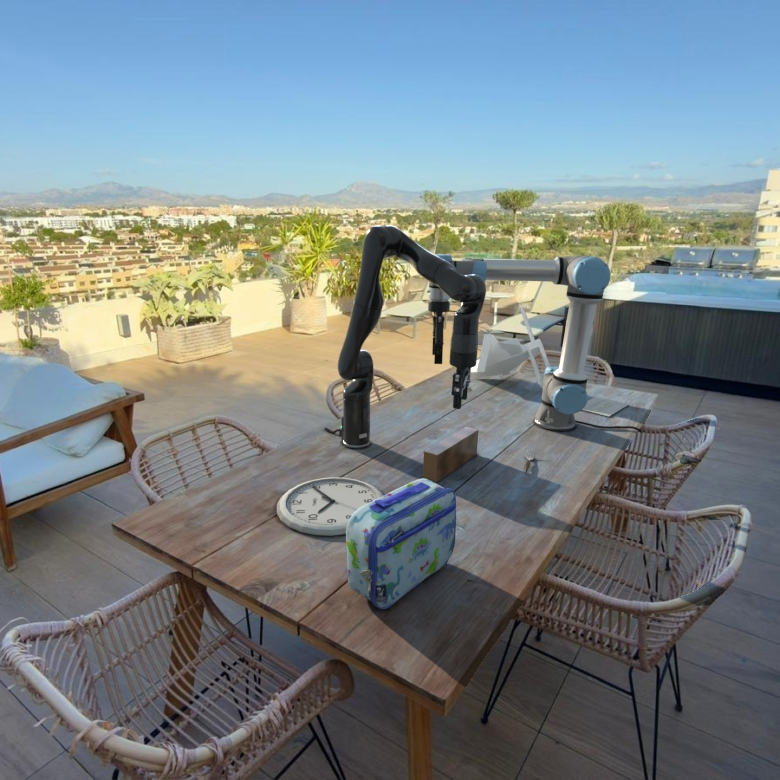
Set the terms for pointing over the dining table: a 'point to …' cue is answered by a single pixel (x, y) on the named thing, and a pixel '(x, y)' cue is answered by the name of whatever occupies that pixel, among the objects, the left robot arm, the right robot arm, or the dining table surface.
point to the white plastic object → (508, 355)
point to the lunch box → (400, 540)
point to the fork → (529, 460)
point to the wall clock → (324, 504)
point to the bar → (450, 454)
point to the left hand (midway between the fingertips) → (460, 403)
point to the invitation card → (603, 406)
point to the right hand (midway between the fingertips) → (437, 359)
